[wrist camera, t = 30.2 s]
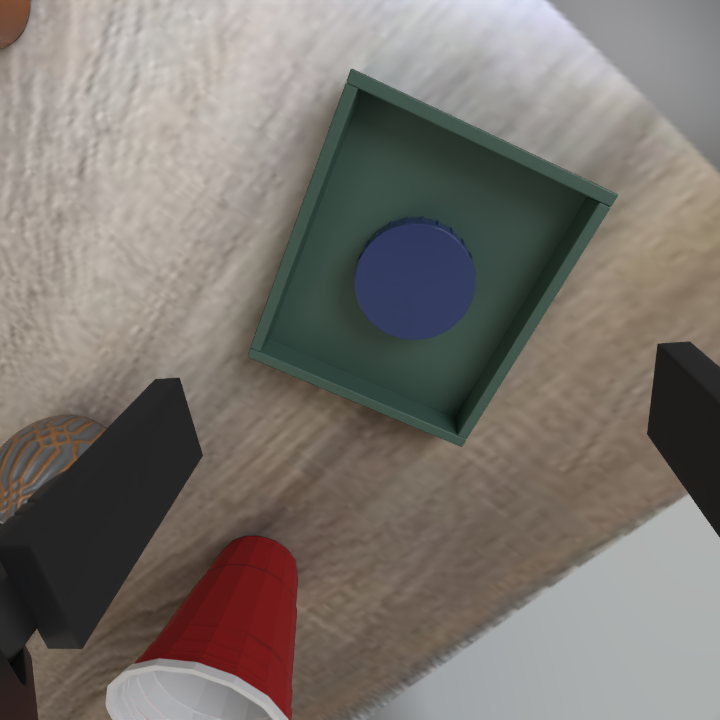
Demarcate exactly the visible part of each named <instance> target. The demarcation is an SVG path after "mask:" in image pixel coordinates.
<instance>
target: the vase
mask: <svg viewBox="0 0 720 720" xmlns="http://www.w3.org/2000/svg"><path fill="white" fill-rule="evenodd" d="M105 430H106V428H104V427H103V426H102V425H100V424H99V423H97V422H95V421H93V420H90V419H88V418H85V417H81V416H74V415H59V416H53V417H49V418H46V419H42V420H40V421H37V422H35V423H33V424H30V425H28V426H27V427H25V428H24V429H22V430H20V431H19V432H18V433H16V434H15V435H14V436H12V437H11V438H10V439H9V440H8V441H6V442H5V443H4V444H3V445H2V447H1V448H0V526H1V525H2V524H3V523H4V522H5V521H6V520H7V519H8V518H9V517H10V516H14V512H15V511H16V510H17V509H18V508H19V507H20V506H21V505H22V504H23V503H27V499H28V498H29V497H30V496H31V495H32V494H33V493H35V492H36V491H37V490H38V489H39V488H40V487H41V486H42V485H43V484H44V483H46V482H47V481H49V480H50V479H52V478H54V477H55V476H57V475H58V474H60V473H61V472H63V471H66V470H67V469H68V468H69V467H70V466H71V465H72V464H73V463H74V462H75V461H76V460H77V459H78V458H79V457H80V456H81V455H82V454H83V453H84V452H85V451H86V450H87V449H88V448H89V447H90V446H91V445H92V444H93V443H94V442H95V440H96V439H97V438H98V437H99V436H100V435H101V434H102V433H103V432H104V431H105Z"/></svg>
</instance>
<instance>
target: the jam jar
mask: <svg viewBox="0 0 720 720" xmlns="http://www.w3.org/2000/svg"><path fill="white" fill-rule="evenodd" d="M29 12H30V0H0V48H4V47H6V46H8V45H10V44H11V43H12V42H14V41H15V40H16V39H17V38H18V37H19V36H20V34H21V33H22V31H23V30H24V28H25V25H26V23H27V20H28V17H29Z"/></svg>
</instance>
